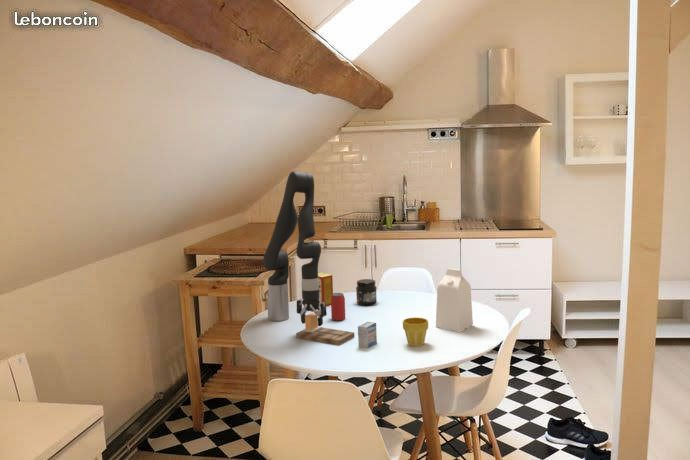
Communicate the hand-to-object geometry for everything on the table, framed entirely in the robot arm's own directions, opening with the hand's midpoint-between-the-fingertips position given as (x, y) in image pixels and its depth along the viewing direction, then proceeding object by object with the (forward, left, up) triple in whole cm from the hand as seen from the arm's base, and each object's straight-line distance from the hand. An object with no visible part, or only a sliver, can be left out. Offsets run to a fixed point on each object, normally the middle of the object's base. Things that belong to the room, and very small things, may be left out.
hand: (311, 324), depth 264 cm
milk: (+50, +39, -5) cm, 64 cm away
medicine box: (+28, 0, -5) cm, 28 cm away
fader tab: (0, 0, -3) cm, 3 cm away
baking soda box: (-25, +45, -5) cm, 52 cm away
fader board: (+7, 0, -5) cm, 8 cm away
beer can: (-3, +26, -5) cm, 27 cm away
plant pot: (+45, +10, -5) cm, 46 cm away
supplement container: (-5, +56, -5) cm, 56 cm away
